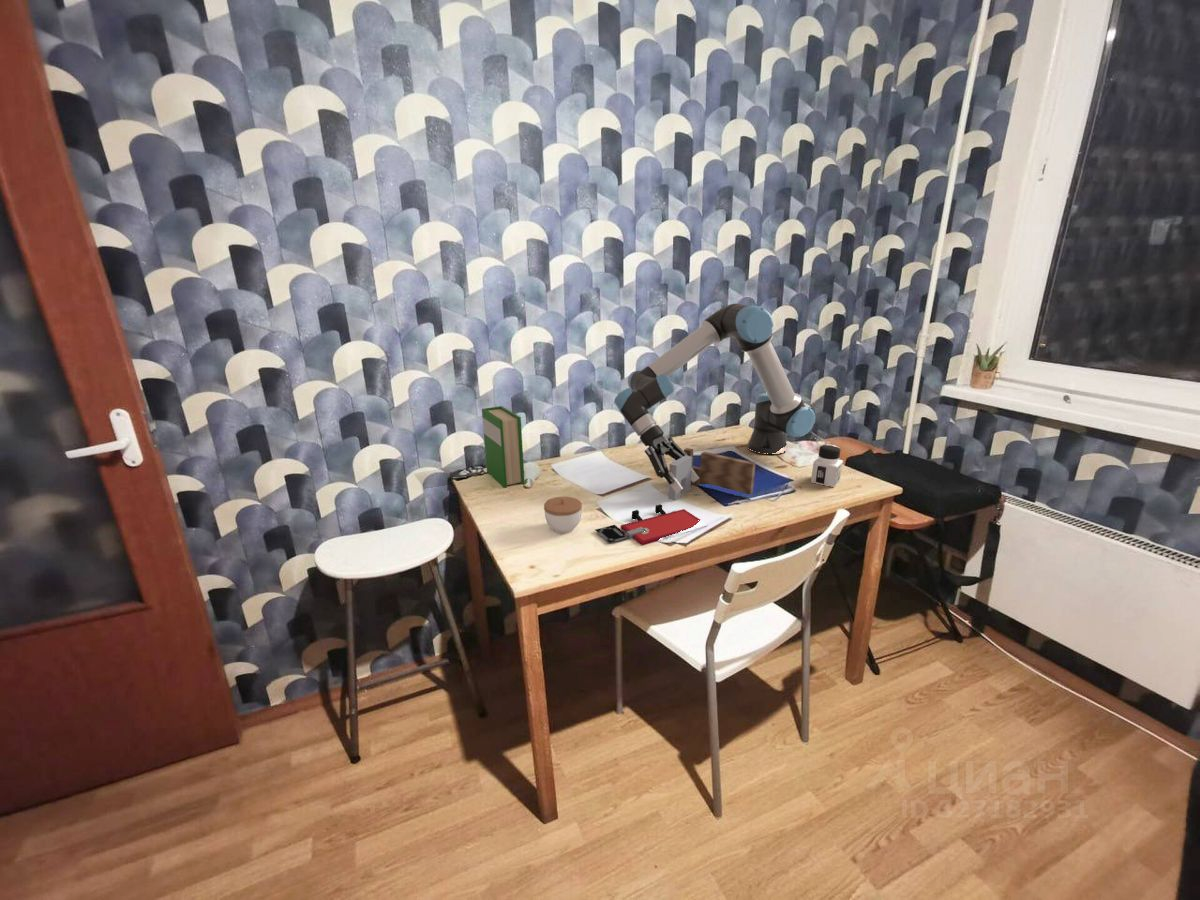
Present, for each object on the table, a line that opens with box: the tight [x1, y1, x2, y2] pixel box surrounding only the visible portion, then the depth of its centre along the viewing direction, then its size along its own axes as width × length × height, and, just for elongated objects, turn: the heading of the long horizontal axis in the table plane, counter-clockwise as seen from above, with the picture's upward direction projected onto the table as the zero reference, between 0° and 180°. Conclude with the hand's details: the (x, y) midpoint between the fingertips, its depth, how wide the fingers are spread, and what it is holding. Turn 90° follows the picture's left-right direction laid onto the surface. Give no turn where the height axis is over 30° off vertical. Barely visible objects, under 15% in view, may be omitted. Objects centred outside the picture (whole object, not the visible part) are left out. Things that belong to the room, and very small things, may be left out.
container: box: [810, 444, 844, 488], centre depth 182 cm, size 8×8×13 cm
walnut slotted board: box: [683, 447, 756, 495], centre depth 176 cm, size 24×2×12 cm, turn 52°
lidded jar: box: [543, 495, 583, 534], centre depth 152 cm, size 11×11×9 cm
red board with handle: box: [594, 503, 701, 546], centre depth 153 cm, size 30×3×15 cm
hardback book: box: [481, 405, 526, 489], centre depth 186 cm, size 18×7×24 cm, turn 31°
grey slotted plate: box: [667, 455, 692, 502], centre depth 173 cm, size 2×10×12 cm, turn 142°
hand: (688, 485), depth 172 cm, fingers closed on grey slotted plate, 10 cm apart
